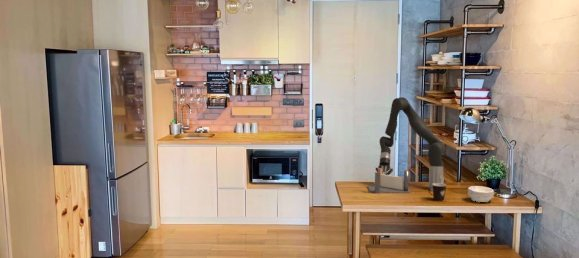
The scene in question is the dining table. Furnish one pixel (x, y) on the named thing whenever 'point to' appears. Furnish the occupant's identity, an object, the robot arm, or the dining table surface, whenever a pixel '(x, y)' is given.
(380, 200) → the dining table surface
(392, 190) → the mat
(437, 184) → the coffee mug
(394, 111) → the robot arm
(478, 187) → the paper bowls
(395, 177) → the gate
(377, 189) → the gate posts
